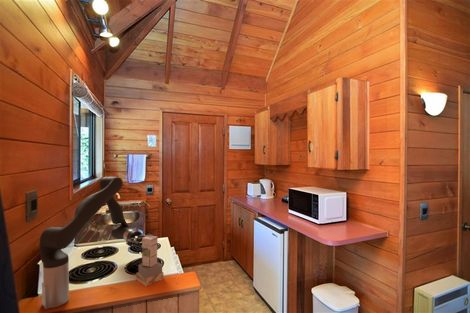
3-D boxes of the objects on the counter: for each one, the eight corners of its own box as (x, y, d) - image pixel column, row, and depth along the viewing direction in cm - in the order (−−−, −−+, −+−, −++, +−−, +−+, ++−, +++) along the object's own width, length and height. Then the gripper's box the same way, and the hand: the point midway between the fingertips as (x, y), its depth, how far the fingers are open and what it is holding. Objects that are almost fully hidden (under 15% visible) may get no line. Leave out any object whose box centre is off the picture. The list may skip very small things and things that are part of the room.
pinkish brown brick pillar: (157, 263, 132) (158, 236, 132) (150, 267, 126) (150, 239, 127) (148, 261, 134) (149, 234, 134) (141, 266, 128) (141, 237, 129)
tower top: (145, 278, 123) (145, 270, 123) (138, 272, 130) (138, 264, 130) (162, 272, 129) (162, 265, 129) (154, 267, 136) (154, 259, 136)
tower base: (145, 287, 123) (145, 279, 123) (136, 280, 129) (136, 273, 129) (163, 279, 130) (163, 272, 130) (153, 273, 137) (153, 266, 137)
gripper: (120, 232, 139) (134, 239, 128) (144, 227, 150) (158, 232, 139) (120, 246, 139) (134, 253, 128) (144, 239, 150) (158, 245, 139)
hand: (146, 242), depth 134 cm, fingers open, 8 cm apart
